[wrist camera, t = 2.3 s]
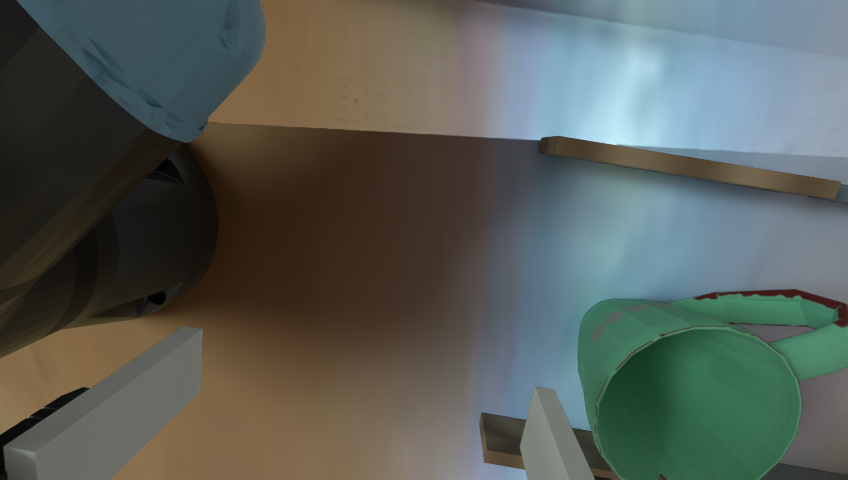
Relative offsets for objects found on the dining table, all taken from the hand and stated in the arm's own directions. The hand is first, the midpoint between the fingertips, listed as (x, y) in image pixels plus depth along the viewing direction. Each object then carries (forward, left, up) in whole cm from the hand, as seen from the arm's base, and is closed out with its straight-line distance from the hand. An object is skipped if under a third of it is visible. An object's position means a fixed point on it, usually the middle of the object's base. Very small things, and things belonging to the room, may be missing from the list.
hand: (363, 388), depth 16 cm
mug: (+18, 0, -14) cm, 23 cm away
